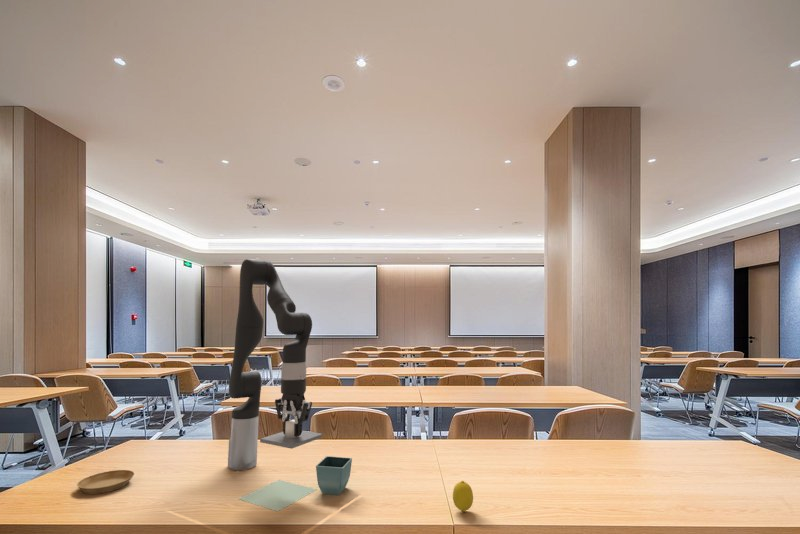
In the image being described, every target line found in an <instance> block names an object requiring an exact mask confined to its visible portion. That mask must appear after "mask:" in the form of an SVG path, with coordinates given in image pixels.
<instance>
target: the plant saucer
mask: <svg viewBox="0 0 800 534" xmlns="http://www.w3.org/2000/svg"><path fill="white" fill-rule="evenodd" d="M134 476H135V472H134V471H133V470H128V469H117V470H108V471H103V472H99V473H96V474H93V475H92V474H91V475H89V476H87V477H85V478H83V479H81V480H80V481H78V482H77V484H76V486H77V488H78V489H80V491H82V492H83V493H85V494H89V493H91V495H92V494H94V493H95V494H96V493H97V494H102V493H107V492H112V491H115V490H118V489H120V488H122V487H124V486H125V485H126V484H128V483H129V482H130V481H131V479H132V478H133V477H134ZM95 494H94V495H95ZM97 494H96V495H97Z"/></svg>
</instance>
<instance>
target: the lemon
mask: <svg viewBox="0 0 800 534" xmlns="http://www.w3.org/2000/svg"><path fill="white" fill-rule="evenodd" d="M452 500H453V501H452V502H453V505H454V506H455V507H456V508H457V510H459V511H461V512H462V513H465V512H466V511H467V510H470V508H471V507H472V506H473V503H474V494H473V490H472V487H471V485H470V484H468V483H467V482H466V481H464V480H461V481H459V482H457V483H456V484H455V485H454V487H453V491H452Z"/></svg>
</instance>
